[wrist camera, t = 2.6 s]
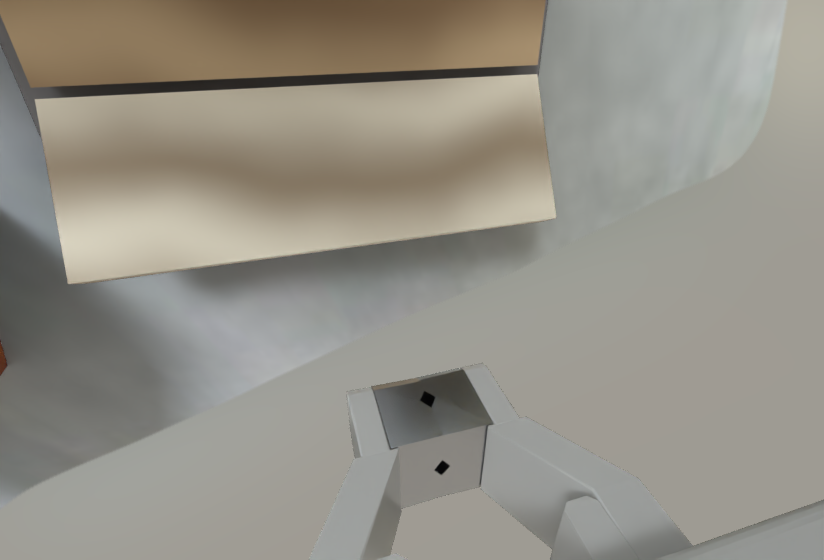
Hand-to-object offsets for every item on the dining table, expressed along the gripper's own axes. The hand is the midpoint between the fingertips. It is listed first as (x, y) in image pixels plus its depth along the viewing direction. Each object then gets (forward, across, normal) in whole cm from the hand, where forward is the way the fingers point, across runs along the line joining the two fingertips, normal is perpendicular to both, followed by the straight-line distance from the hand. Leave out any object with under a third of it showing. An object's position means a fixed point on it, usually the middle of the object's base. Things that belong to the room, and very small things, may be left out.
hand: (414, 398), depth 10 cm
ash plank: (+14, 0, -1) cm, 14 cm away
